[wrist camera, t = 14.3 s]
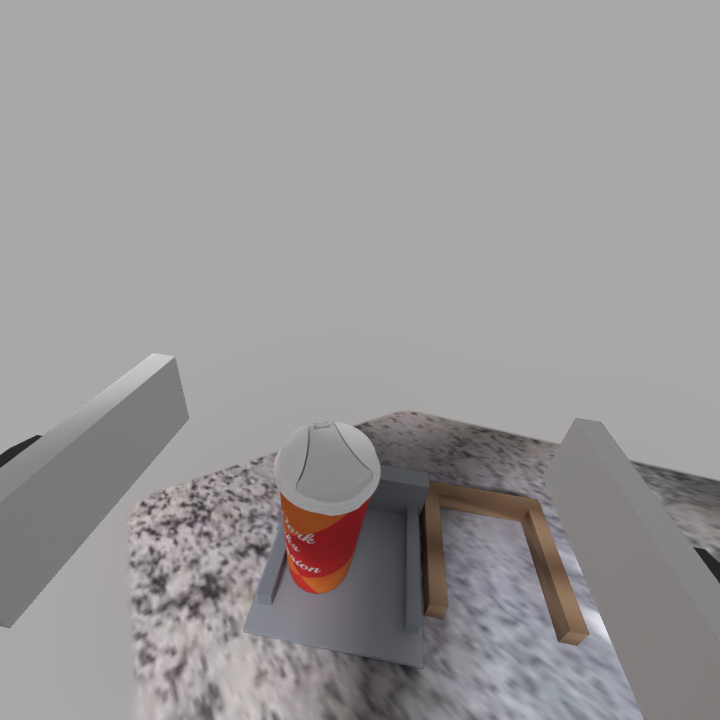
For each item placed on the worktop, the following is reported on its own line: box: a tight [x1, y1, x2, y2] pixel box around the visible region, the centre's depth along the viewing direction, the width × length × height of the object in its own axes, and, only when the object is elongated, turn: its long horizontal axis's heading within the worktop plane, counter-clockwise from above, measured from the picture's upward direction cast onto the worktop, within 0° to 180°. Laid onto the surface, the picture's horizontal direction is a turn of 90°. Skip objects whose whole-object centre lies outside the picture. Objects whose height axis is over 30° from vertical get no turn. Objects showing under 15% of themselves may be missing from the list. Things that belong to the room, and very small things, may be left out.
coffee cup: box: [273, 422, 381, 594], centre depth 29 cm, size 8×8×15 cm
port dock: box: [243, 464, 429, 669], centre depth 32 cm, size 15×15×6 cm
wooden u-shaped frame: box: [421, 481, 589, 645], centre depth 35 cm, size 13×14×2 cm
